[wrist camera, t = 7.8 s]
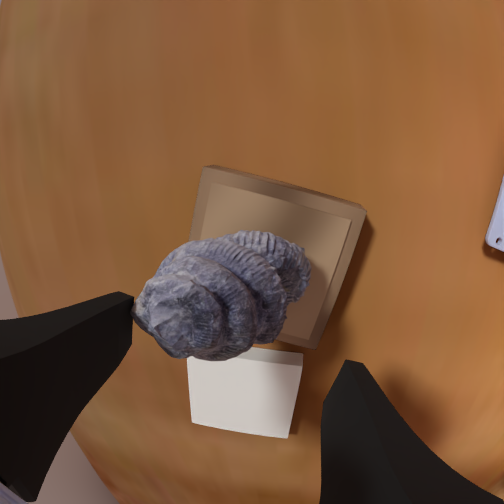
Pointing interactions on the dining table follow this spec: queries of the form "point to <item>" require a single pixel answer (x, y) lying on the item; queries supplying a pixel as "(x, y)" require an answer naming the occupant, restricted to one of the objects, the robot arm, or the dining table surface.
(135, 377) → the dining table surface
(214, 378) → the ceramic tile
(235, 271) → the seashell
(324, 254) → the walnut base
